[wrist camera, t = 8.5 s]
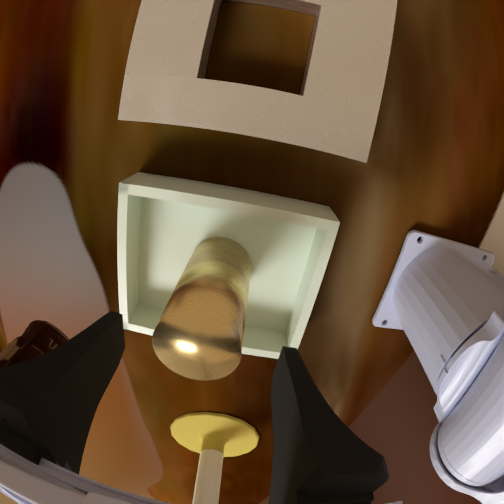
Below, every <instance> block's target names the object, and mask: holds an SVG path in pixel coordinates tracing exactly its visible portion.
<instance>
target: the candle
mask: <svg viewBox="0 0 504 504" xmlns="http://www.w3.org/2000/svg"><path fill="white" fill-rule="evenodd" d="M171 432H172V436H173V437H174V438H175V439H176V440H177V442H178V443H179V444H181V445H183V446H184V447H186V448H188V449H189V450H191V451H194V452H198V453H200V458H199V465H198V471H197V477H196V483H195V490H194V496H193V503H192V504H218V501H219V491H220V482H221V473H222V463H223V457H231V456H238V455H242V454H245V453H248V452H250V451H251V450H252V449H254V448H255V447H256V446H257V444H258V440H259V435H258V433H257V432H256V430H255V428H254V427H252V426H251V425H249V424H248V423H246V422H245V421H243V420H241V419H238V418H235V417H232V416H229V415H226V414H220V413H212V412H195V413H187V414H185V415H182V416H179V417H177V418H176V419H175V420H174V421H173V423H172V424H171Z"/></svg>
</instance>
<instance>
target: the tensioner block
mask: <svg viewBox="0 0 504 504" xmlns="http://www.w3.org/2000/svg"><path fill="white" fill-rule="evenodd" d="M225 1H236V2H244V3H252V4H259V5H265V6H272V7H277V8H283V9H288V10H293V11H297V12H302V13H306V14H311V15H315V21H314V26H313V31H312V36H311V41H310V46H309V51H308V56H307V61H306V66H305V71H304V76H303V81H302V85H301V90H300V95H297V94H292V93H288V92H283V91H278V90H273V89H268V88H263V87H257V86H251V85H245V84H239V83H232V82H225V81H218V80H209V79H204V78H205V73H206V68H207V63H208V58H209V53H210V49H211V44H212V40H213V35H214V31H215V26H216V22H217V18H218V14H219V10H220V6H221V2H222V0H142V2H141V5H140V9H139V13H138V17H137V20H136V24H135V29H134V33H133V37H132V41H131V46H130V51H129V56H128V61H127V66H126V71H125V77H124V82H123V89H122V95H121V102H120V109H119V116H118V120H128V121H141V122H153V123H163V124H172V125H181V126H189V127H197V128H204V129H211V130H218V131H224V132H231V133H237V134H242V135H248V136H254V137H259V138H264V139H269V140H274V141H279V142H284V143H289V144H293V145H298V146H302V147H307V148H311V149H315V150H319V151H323V152H327V153H331V154H335V155H339V156H343V157H346V158H350V159H354V160H357V161H361V162H364V163H367V159H368V155H369V151H370V147H371V143H372V139H373V135H374V130H375V126H376V122H377V117H378V112H379V108H380V103H381V98H382V93H383V88H384V83H385V78H386V73H387V67H388V62H389V56H390V50H391V44H392V37H393V30H394V23H395V16H396V8H397V0H225Z"/></svg>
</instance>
